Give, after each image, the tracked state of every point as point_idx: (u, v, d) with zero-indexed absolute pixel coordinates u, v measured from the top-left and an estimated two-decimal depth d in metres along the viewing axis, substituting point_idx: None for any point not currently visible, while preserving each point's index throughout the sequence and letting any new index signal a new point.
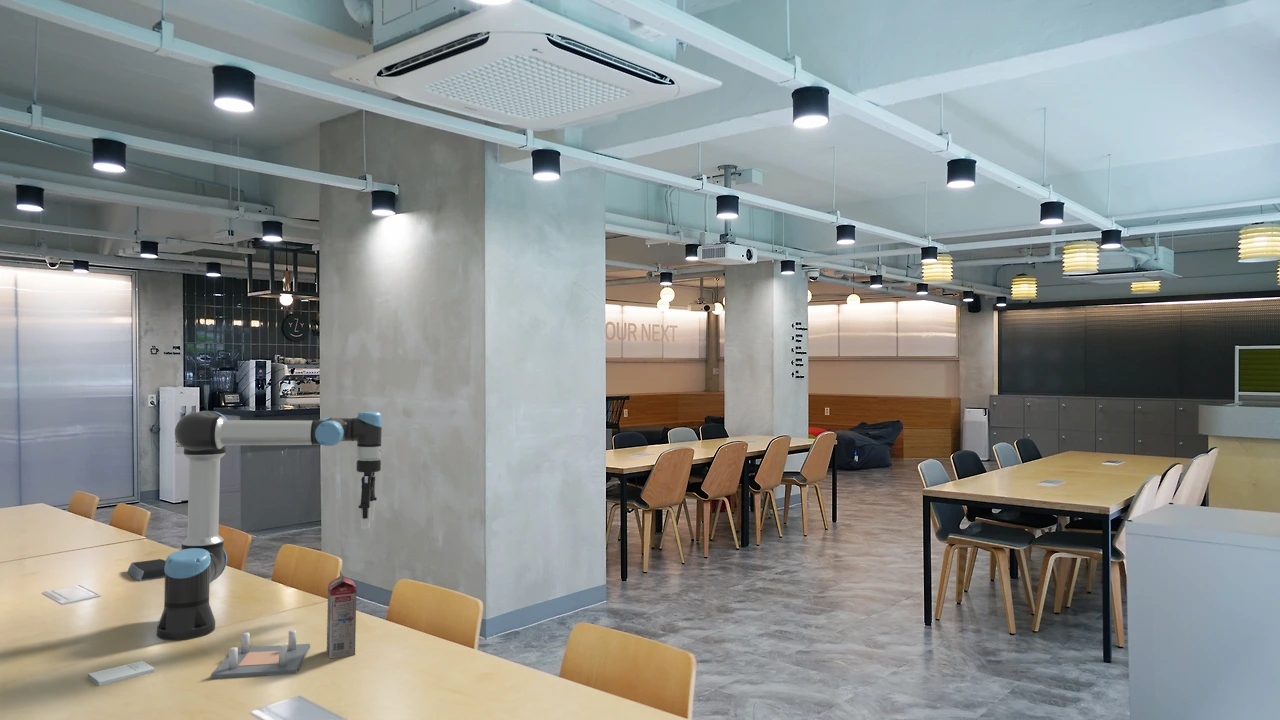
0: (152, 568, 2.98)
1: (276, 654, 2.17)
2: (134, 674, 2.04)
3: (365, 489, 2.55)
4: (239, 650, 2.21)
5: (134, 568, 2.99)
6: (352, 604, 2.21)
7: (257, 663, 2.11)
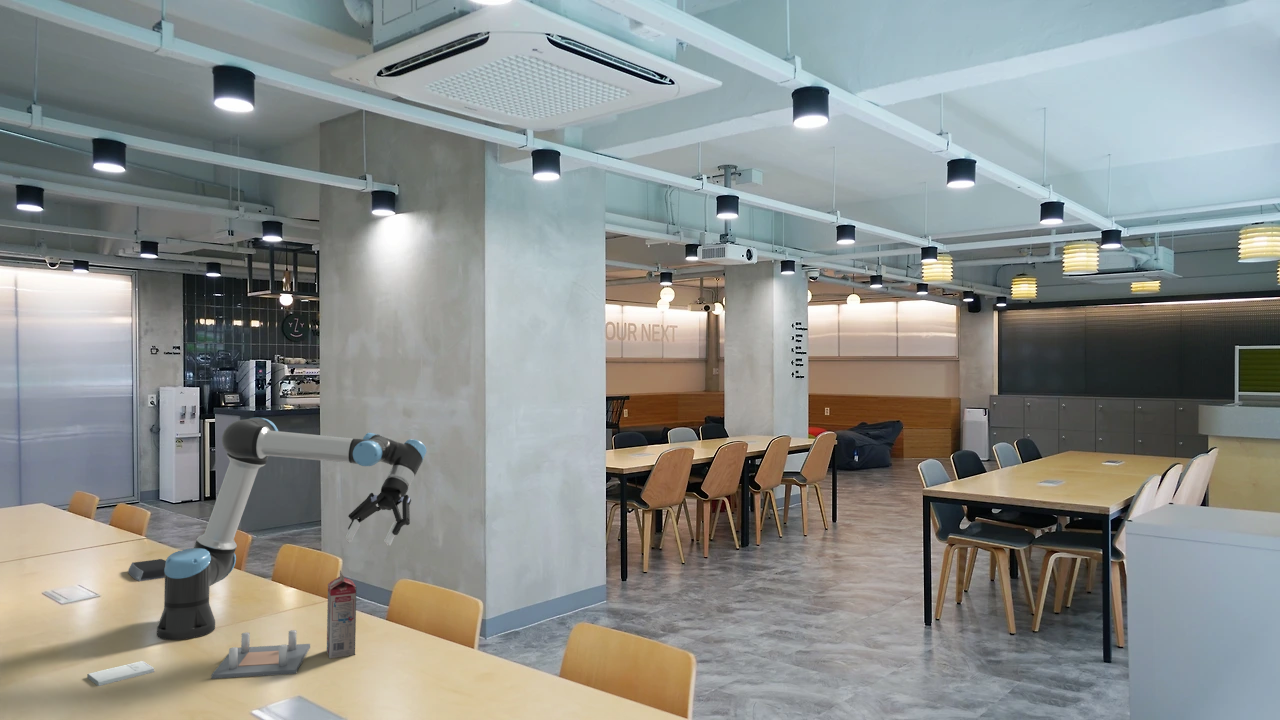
0: (152, 568, 2.98)
1: (276, 654, 2.17)
2: (134, 674, 2.03)
3: (407, 508, 2.42)
4: (239, 650, 2.21)
5: (134, 568, 2.99)
6: (352, 604, 2.21)
7: (257, 663, 2.11)
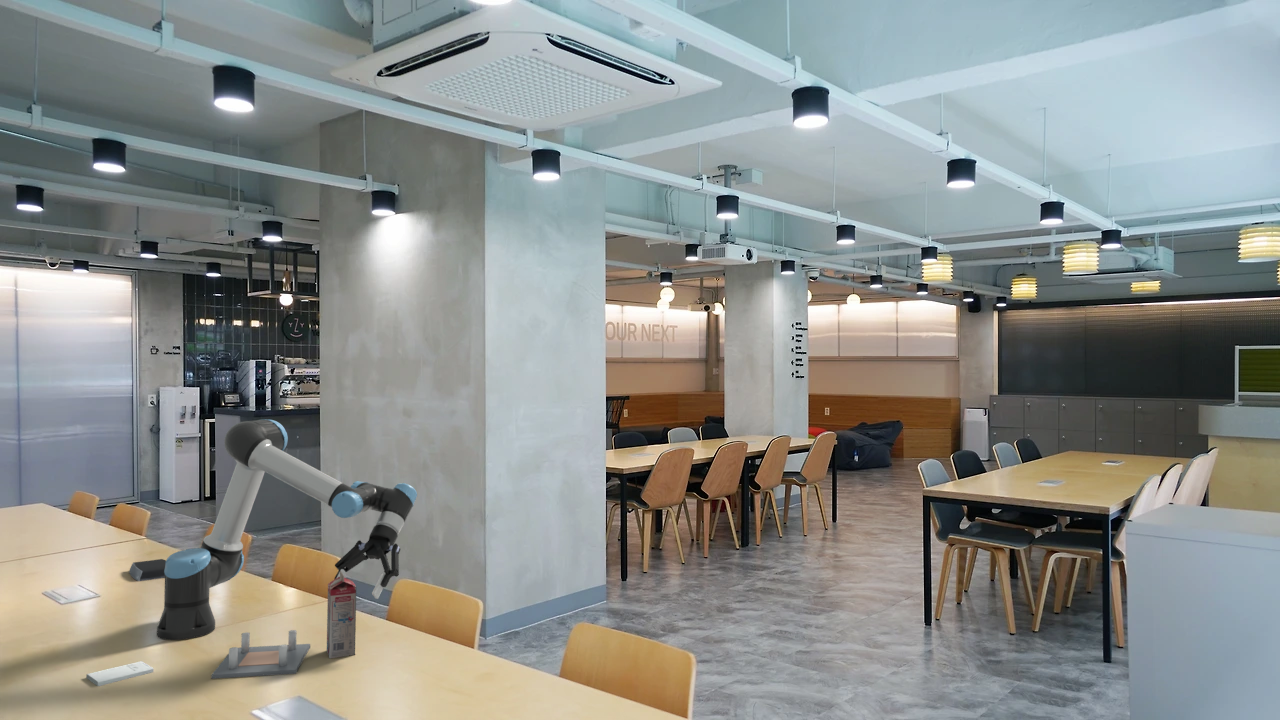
0: (151, 568, 2.98)
1: (276, 654, 2.17)
2: (133, 674, 2.03)
3: (397, 557, 2.33)
4: (239, 650, 2.21)
5: (134, 568, 2.99)
6: (352, 604, 2.21)
7: (257, 663, 2.11)
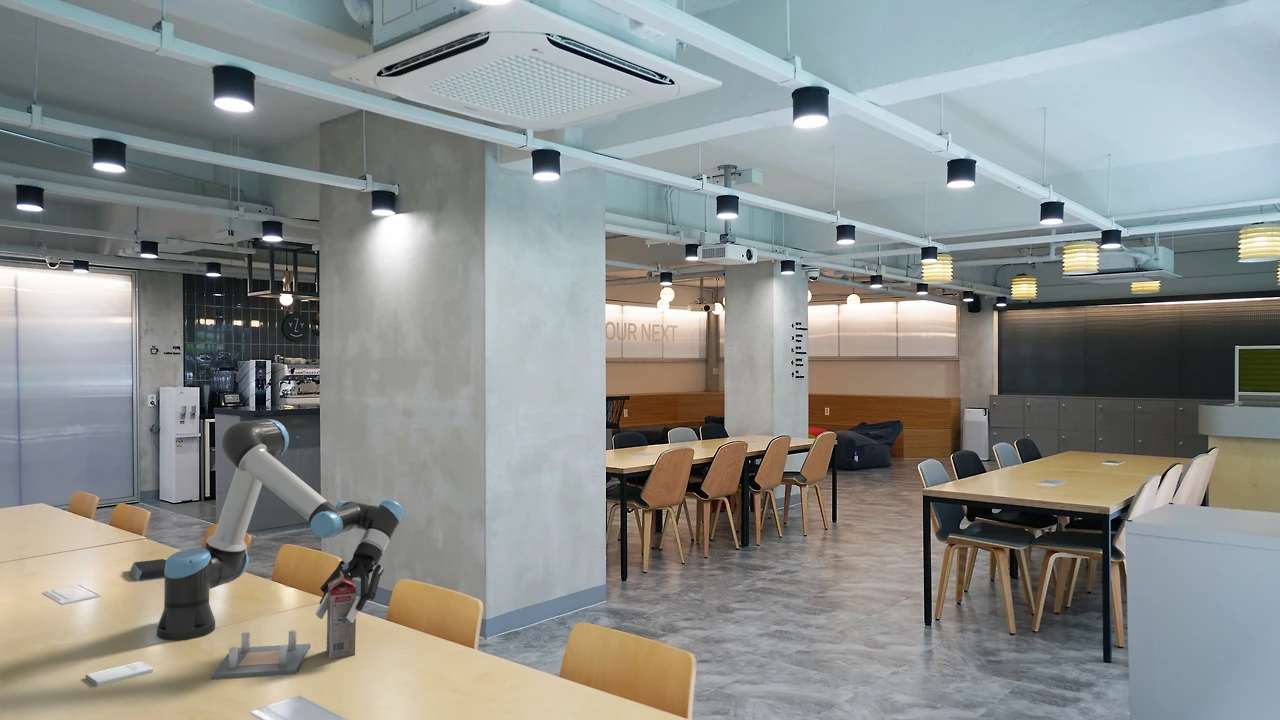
0: (151, 568, 2.98)
1: (276, 654, 2.17)
2: (133, 674, 2.03)
3: (377, 579, 2.27)
4: (239, 650, 2.21)
5: (134, 568, 2.99)
6: (352, 604, 2.21)
7: (257, 663, 2.11)
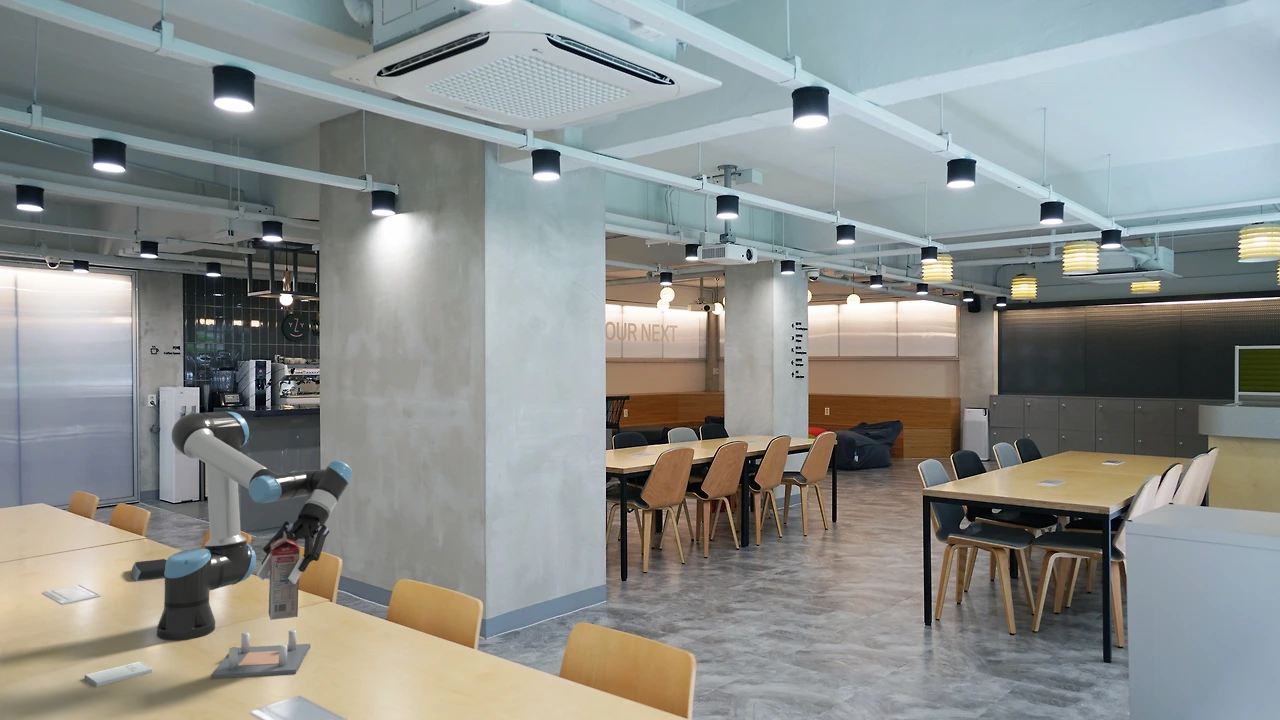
0: (150, 568, 2.98)
1: (276, 654, 2.17)
2: (132, 675, 2.03)
3: (321, 541, 2.20)
4: (239, 650, 2.21)
5: (134, 568, 3.00)
6: (294, 565, 2.15)
7: (257, 663, 2.11)
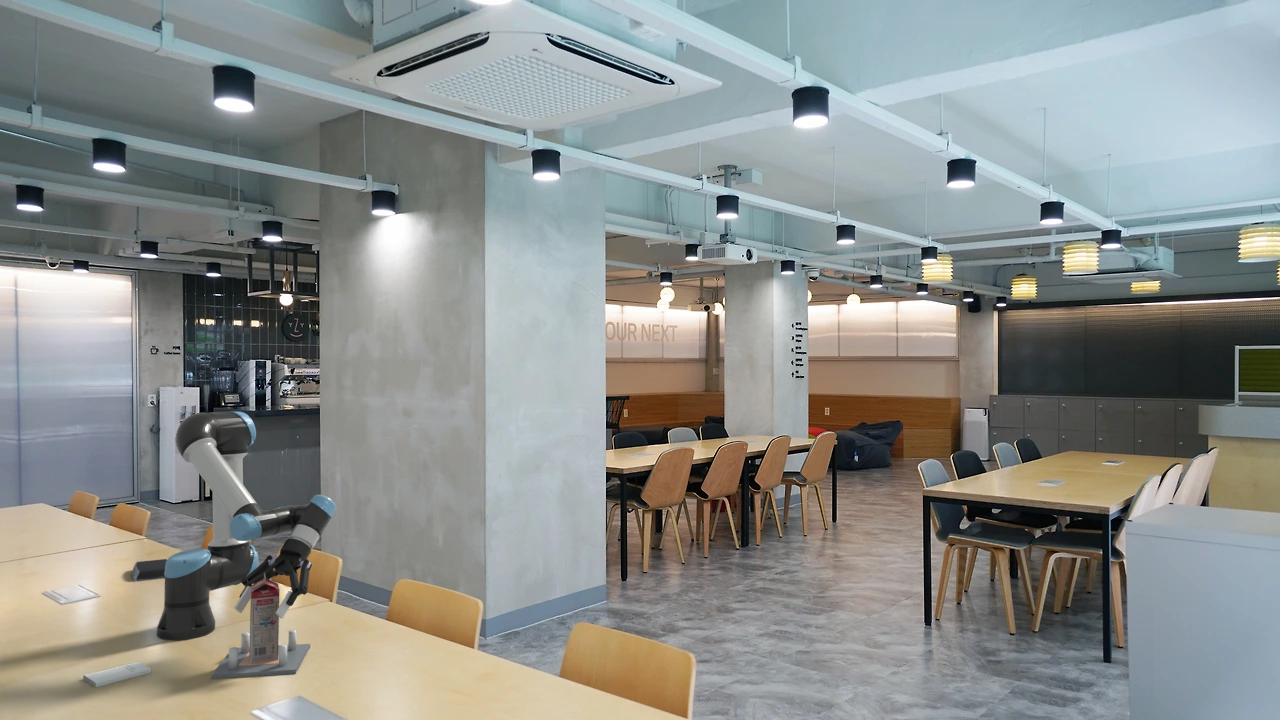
0: (149, 568, 2.97)
1: None
2: (131, 675, 2.03)
3: (306, 574, 2.19)
4: (239, 650, 2.21)
5: (134, 568, 3.00)
6: (274, 607, 2.13)
7: (257, 663, 2.11)
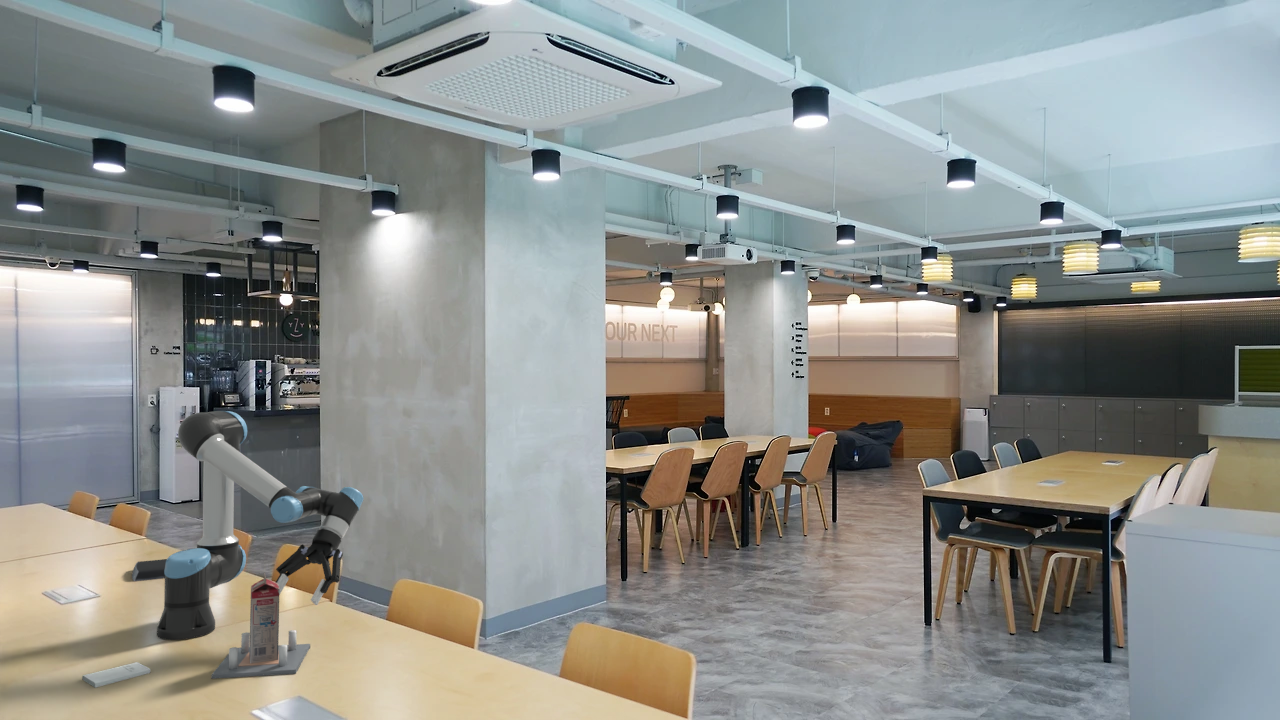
0: (148, 568, 2.97)
1: None
2: (130, 675, 2.03)
3: (338, 563, 2.32)
4: (239, 650, 2.21)
5: (134, 567, 3.00)
6: (274, 607, 2.13)
7: (257, 663, 2.11)
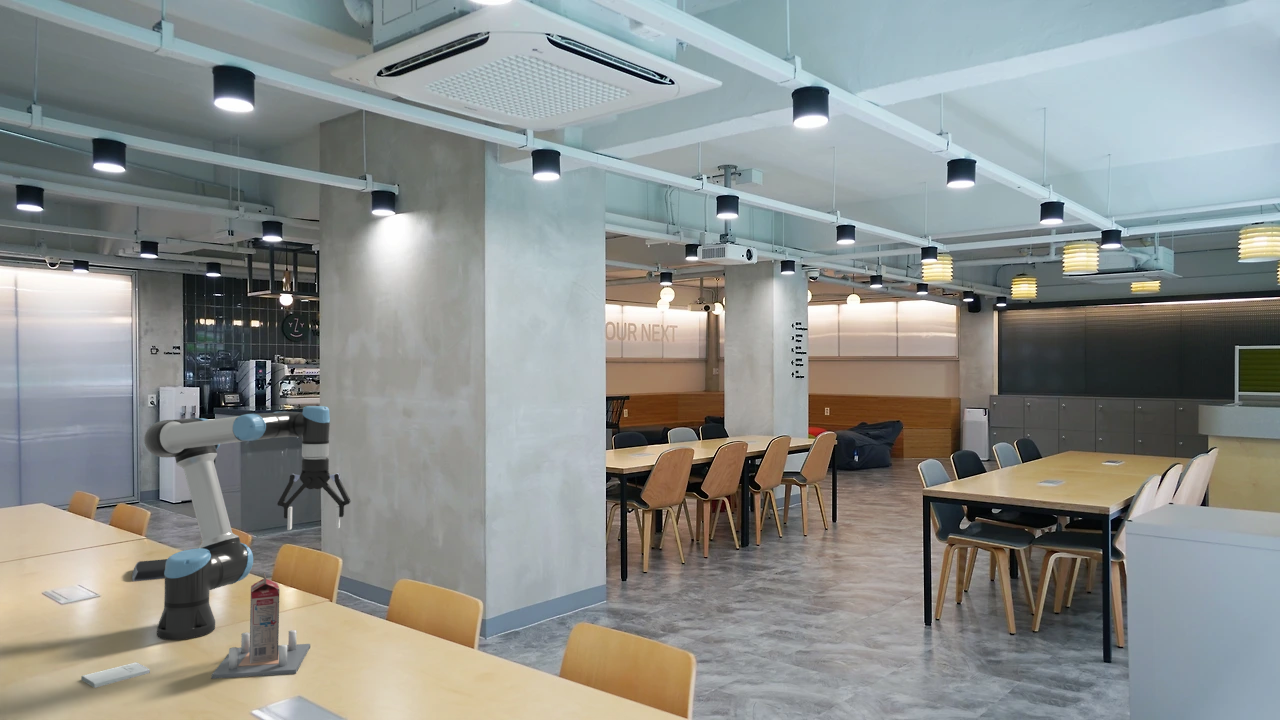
0: (148, 568, 2.97)
1: None
2: (129, 675, 2.03)
3: (342, 486, 2.42)
4: (239, 650, 2.21)
5: None
6: (274, 607, 2.13)
7: (257, 663, 2.11)
